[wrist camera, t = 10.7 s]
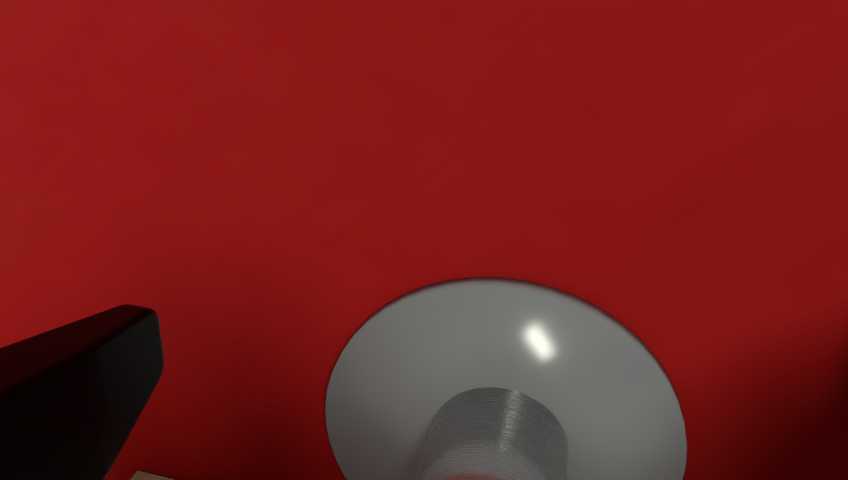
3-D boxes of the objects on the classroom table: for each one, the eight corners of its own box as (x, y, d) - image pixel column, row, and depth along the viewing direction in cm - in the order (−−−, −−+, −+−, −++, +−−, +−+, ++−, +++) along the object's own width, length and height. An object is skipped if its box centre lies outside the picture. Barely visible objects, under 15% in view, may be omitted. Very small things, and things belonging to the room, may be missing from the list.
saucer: (731, 318, 22) (734, 330, 21) (638, 592, 27) (638, 606, 27) (337, 245, 23) (331, 253, 23) (325, 516, 29) (320, 528, 28)
